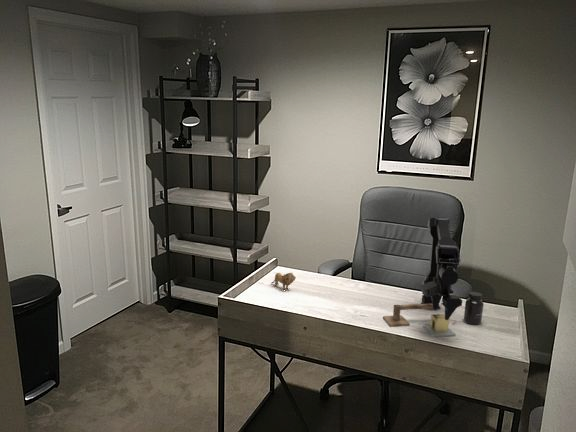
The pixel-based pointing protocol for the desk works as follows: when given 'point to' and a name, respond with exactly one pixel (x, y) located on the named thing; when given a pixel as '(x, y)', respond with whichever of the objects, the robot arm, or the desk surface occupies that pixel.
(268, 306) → the desk surface
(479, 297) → the supplement bottle
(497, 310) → the desk surface
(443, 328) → the slotted brass block
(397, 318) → the walnut stand
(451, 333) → the slate mat
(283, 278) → the lion figurine
